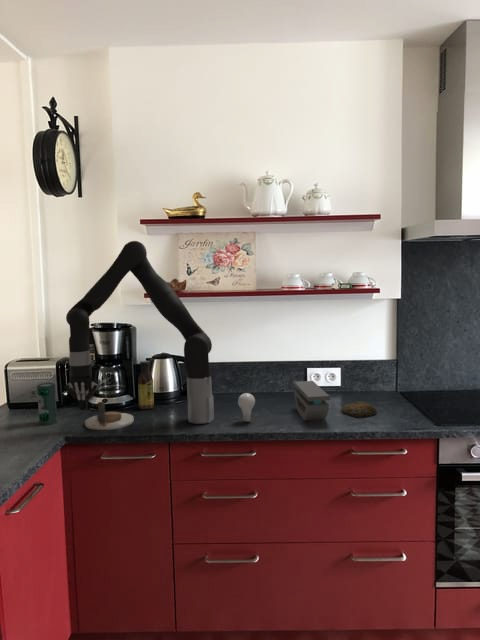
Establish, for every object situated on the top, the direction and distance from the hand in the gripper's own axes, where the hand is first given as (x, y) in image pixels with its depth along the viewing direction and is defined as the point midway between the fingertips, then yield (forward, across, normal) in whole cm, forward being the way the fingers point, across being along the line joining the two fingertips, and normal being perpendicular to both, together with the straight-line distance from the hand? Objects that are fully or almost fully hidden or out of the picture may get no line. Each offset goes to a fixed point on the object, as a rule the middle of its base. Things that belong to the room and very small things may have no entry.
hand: (83, 409), depth 184 cm
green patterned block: (+7, +18, -7) cm, 20 cm away
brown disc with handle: (+6, -7, -5) cm, 10 cm away
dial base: (+7, -6, -8) cm, 13 cm away
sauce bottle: (+8, -15, -29) cm, 33 cm away
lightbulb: (+8, -59, -11) cm, 61 cm away
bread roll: (+9, -102, -25) cm, 106 cm away
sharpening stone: (+8, -83, -20) cm, 86 cm away
